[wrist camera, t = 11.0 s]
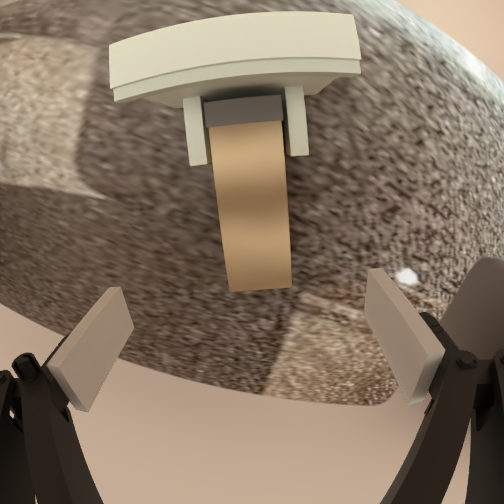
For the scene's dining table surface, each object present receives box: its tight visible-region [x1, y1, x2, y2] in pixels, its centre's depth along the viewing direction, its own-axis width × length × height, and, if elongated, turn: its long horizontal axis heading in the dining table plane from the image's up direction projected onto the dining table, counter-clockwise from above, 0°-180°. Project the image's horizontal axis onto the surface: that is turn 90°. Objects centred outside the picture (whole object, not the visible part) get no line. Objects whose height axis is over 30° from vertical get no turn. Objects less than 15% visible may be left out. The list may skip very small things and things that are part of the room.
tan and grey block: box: [204, 95, 292, 292], centre depth 25 cm, size 16×6×7 cm, turn 5°
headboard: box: [109, 12, 361, 166], centre depth 19 cm, size 14×9×14 cm, turn 95°
